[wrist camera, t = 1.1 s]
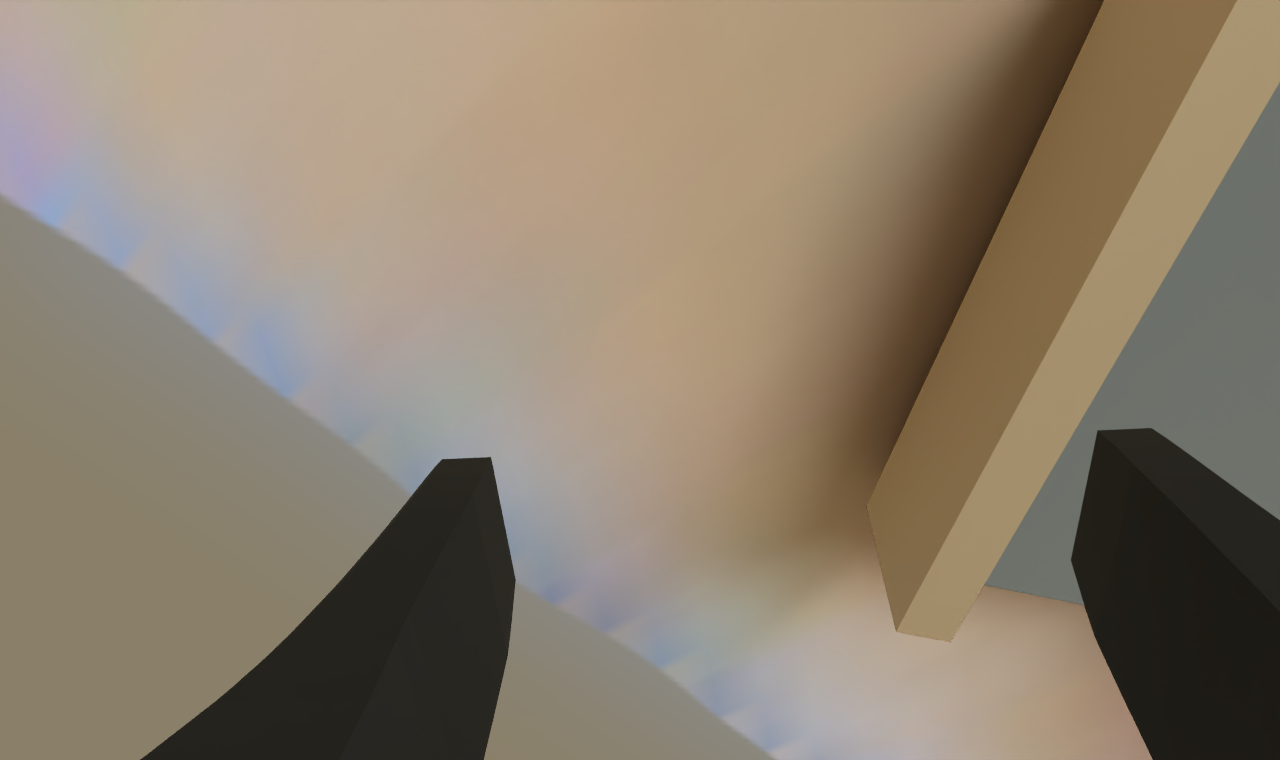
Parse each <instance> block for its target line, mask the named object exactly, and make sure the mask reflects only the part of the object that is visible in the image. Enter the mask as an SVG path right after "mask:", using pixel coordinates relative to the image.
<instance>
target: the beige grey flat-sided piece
mask: <svg viewBox="0 0 1280 760" xmlns="http://www.w3.org/2000/svg"><path fill="white" fill-rule="evenodd" d="M1139 428H1152V429H1154V430H1155V431H1157V432H1158V433H1160V434H1161V435H1163V436H1164V437H1166V438H1167V439H1169V440H1170V441H1171V442H1173V443H1174V444H1176V445H1177V446H1179V447H1180V448H1181V449H1183V450H1184V451H1185V452H1187V453H1188V454H1190V455H1191V456H1192V457H1194V458H1195V459H1196V460H1198V461H1199V462H1201V463H1202V464H1203V465H1205V466H1206V467H1207V468H1209V469H1210V470H1211V471H1213V472H1214V473H1215V474H1217V475H1218V476H1220V477H1221V478H1222V479H1224V480H1225V481H1226V482H1228V483H1229V484H1230V485H1232V486H1233V487H1235V488H1236V489H1237V490H1239V491H1240V492H1241V493H1243V494H1244V495H1245V496H1247V497H1248V498H1250V499H1251V500H1252V501H1254V502H1255V503H1257V504H1258V505H1259V506H1261V507H1262V508H1263V509H1265V510H1266V511H1268V512H1269V513H1270V514H1272V515H1273V516H1275V517H1276V518H1277V519H1279V520H1280V0H1104V2H1103V4H1102V6H1101V8H1100V10H1099V13H1098V15H1097V17H1096V19H1095V21H1094V23H1093V25H1092V27H1091V30H1090V32H1089V34H1088V36H1087V38H1086V40H1085V42H1084V44H1083V47H1082V49H1081V51H1080V53H1079V55H1078V57H1077V59H1076V61H1075V64H1074V66H1073V68H1072V70H1071V72H1070V74H1069V76H1068V78H1067V81H1066V83H1065V85H1064V87H1063V89H1062V91H1061V93H1060V95H1059V98H1058V100H1057V102H1056V104H1055V106H1054V108H1053V110H1052V112H1051V115H1050V117H1049V119H1048V121H1047V123H1046V125H1045V127H1044V129H1043V132H1042V134H1041V136H1040V138H1039V140H1038V142H1037V144H1036V147H1035V149H1034V151H1033V153H1032V155H1031V157H1030V159H1029V161H1028V164H1027V166H1026V168H1025V170H1024V172H1023V174H1022V176H1021V178H1020V181H1019V183H1018V185H1017V187H1016V189H1015V191H1014V193H1013V195H1012V198H1011V200H1010V202H1009V204H1008V206H1007V208H1006V210H1005V212H1004V215H1003V217H1002V219H1001V221H1000V223H999V225H998V227H997V229H996V232H995V234H994V236H993V238H992V240H991V242H990V244H989V246H988V249H987V251H986V253H985V255H984V257H983V259H982V261H981V263H980V266H979V268H978V270H977V272H976V274H975V276H974V278H973V280H972V283H971V285H970V287H969V289H968V291H967V293H966V295H965V297H964V300H963V302H962V304H961V306H960V308H959V310H958V312H957V314H956V317H955V319H954V321H953V323H952V325H951V327H950V329H949V332H948V334H947V336H946V338H945V340H944V342H943V344H942V346H941V349H940V351H939V353H938V355H937V357H936V359H935V361H934V363H933V366H932V368H931V370H930V372H929V374H928V376H927V378H926V380H925V383H924V385H923V387H922V389H921V391H920V393H919V395H918V397H917V400H916V402H915V404H914V406H913V408H912V410H911V412H910V414H909V417H908V419H907V421H906V423H905V425H904V427H903V429H902V431H901V434H900V436H899V438H898V440H897V442H896V444H895V446H894V448H893V451H892V453H891V455H890V457H889V459H888V461H887V463H886V465H885V468H884V470H883V472H882V474H881V476H880V478H879V480H878V482H877V485H876V487H875V489H874V491H873V493H872V495H871V497H870V499H869V502H868V504H867V506H866V507H867V511H868V515H869V520H870V524H871V528H872V532H873V536H874V541H875V545H876V549H877V553H878V558H879V562H880V566H881V570H882V574H883V579H884V583H885V587H886V591H887V596H888V600H889V604H890V608H891V612H892V617H893V621H894V625H895V629H896V632H900V633H905V634H911V635H916V636H921V637H926V638H931V639H936V640H942V641H947V642H951V640H952V639H953V637H954V635H955V634H956V632H957V630H958V629H959V627H960V625H961V623H962V622H963V620H964V618H965V617H966V615H967V613H968V612H969V610H970V608H971V606H972V605H973V603H974V601H975V600H976V598H977V596H978V595H979V593H980V591H981V589H982V588H983V586H984V585H986V586H991V587H996V588H1001V589H1006V590H1011V591H1016V592H1021V593H1026V594H1031V595H1036V596H1041V597H1046V598H1051V599H1056V600H1061V601H1066V602H1071V603H1076V604H1081V605H1084V603H1083V599H1082V596H1081V593H1080V589H1079V586H1078V583H1077V579H1076V576H1075V573H1074V569H1073V566H1072V563H1071V556H1072V552H1073V547H1074V542H1075V537H1076V532H1077V527H1078V522H1079V518H1080V513H1081V508H1082V503H1083V498H1084V493H1085V488H1086V484H1087V479H1088V474H1089V469H1090V464H1091V459H1092V454H1093V450H1094V445H1095V440H1096V435H1097V430H1117V429H1139Z"/></svg>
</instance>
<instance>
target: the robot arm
mask: <svg viewBox="0 0 1280 760" xmlns="http://www.w3.org/2000/svg"><path fill="white" fill-rule="evenodd" d="M1071 563H1072V566H1073V569H1074V573H1075V576H1076V579H1077V583H1078V586H1079V589H1080V593H1081V596H1082V599H1083V603H1084V606H1085V609H1086V612H1087V615H1088V618H1089V621H1090V624H1091V627H1092V630H1093V633H1094V636H1095V638H1096V640H1097V642H1098V645H1099V647H1100V649H1101V651H1102V653H1103V656H1104V658H1105V660H1106V662H1107V664H1108V666H1109V668H1110V671H1111V673H1112V675H1113V677H1114V679H1115V681H1116V683H1117V686H1118V688H1119V690H1120V692H1121V694H1122V696H1123V698H1124V700H1125V702H1126V705H1127V707H1128V709H1129V711H1130V713H1131V715H1132V717H1133V719H1134V721H1135V723H1136V725H1137V727H1138V730H1139V732H1140V734H1141V736H1142V738H1143V740H1144V742H1145V744H1146V746H1147V748H1148V750H1149V753H1150V755H1151V757H1152V759H1153V760H1280V520H1279V519H1277V518H1276V517H1275V516H1273V515H1272V514H1270V513H1269V512H1268V511H1266V510H1265V509H1263V508H1262V507H1261V506H1259V505H1258V504H1257V503H1255V502H1254V501H1252V500H1251V499H1250V498H1248V497H1247V496H1245V495H1244V494H1243V493H1241V492H1240V491H1239V490H1237V489H1236V488H1235V487H1233V486H1232V485H1230V484H1229V483H1228V482H1226V481H1225V480H1224V479H1222V478H1221V477H1220V476H1218V475H1217V474H1215V473H1214V472H1213V471H1211V470H1210V469H1209V468H1207V467H1206V466H1205V465H1203V464H1202V463H1201V462H1199V461H1198V460H1196V459H1195V458H1194V457H1192V456H1191V455H1190V454H1188V453H1187V452H1185V451H1184V450H1183V449H1181V448H1180V447H1179V446H1177V445H1176V444H1174V443H1173V442H1171V441H1170V440H1169V439H1167V438H1166V437H1164V436H1163V435H1161V434H1160V433H1158V432H1157V431H1155V430H1154V429H1152V428H1139V429H1117V430H1097V435H1096V440H1095V445H1094V450H1093V454H1092V459H1091V464H1090V469H1089V474H1088V479H1087V484H1086V488H1085V493H1084V498H1083V503H1082V508H1081V513H1080V518H1079V522H1078V527H1077V532H1076V537H1075V542H1074V547H1073V552H1072V556H1071ZM514 590H515V575H514V570H513V565H512V560H511V555H510V550H509V545H508V540H507V535H506V530H505V525H504V520H503V515H502V510H501V505H500V500H499V495H498V490H497V485H496V480H495V475H494V470H493V465H492V460H491V457H486V458H463V459H442V460H441V461H440V462H439V463H438V464H437V465H436V466H435V468H434V469H433V470H432V471H431V472H430V474H429V475H428V476H427V477H426V479H425V480H424V481H423V482H422V484H421V485H420V486H419V487H418V489H417V490H416V491H415V492H414V494H413V495H412V496H411V497H410V499H409V500H408V501H407V502H406V504H405V505H404V506H403V507H402V509H401V510H400V511H399V512H398V514H397V515H396V516H395V517H394V518H393V520H392V521H391V522H390V523H389V525H388V526H387V527H386V528H385V530H384V531H383V532H382V533H381V534H380V536H379V537H378V538H377V539H376V540H375V542H374V543H373V544H372V545H371V546H370V547H369V548H368V550H367V551H366V552H365V553H364V554H363V555H362V557H361V558H360V559H359V560H358V561H357V562H356V564H355V565H354V566H353V567H352V568H351V569H350V571H349V572H348V573H347V574H346V575H345V576H344V577H343V579H342V580H341V581H340V582H339V583H338V584H337V585H336V586H335V587H334V589H333V590H332V591H331V592H330V593H329V594H328V595H327V596H326V597H325V598H324V599H323V600H322V601H321V602H320V603H319V604H318V605H317V606H316V607H315V609H314V610H313V611H312V612H311V613H310V614H309V615H308V616H307V617H306V618H305V619H304V620H303V621H302V622H301V623H300V624H299V625H298V626H297V627H296V629H295V630H294V631H293V632H292V633H291V634H290V635H289V636H288V637H287V638H286V639H285V640H283V641H282V642H281V643H280V644H279V646H277V647H276V648H275V649H274V650H273V651H272V652H271V653H270V654H269V655H268V656H267V657H266V658H265V659H264V660H263V661H261V662H260V663H259V664H258V665H257V666H256V667H255V668H254V669H253V670H251V671H250V672H249V673H248V674H247V675H246V676H245V677H243V678H242V679H241V680H240V681H239V682H238V683H237V684H236V685H235V686H234V687H232V688H231V689H230V690H229V691H227V693H225V694H224V695H223V696H221V697H220V698H219V699H218V700H217V701H216V702H214V703H213V704H212V705H210V706H209V707H208V708H207V709H205V710H204V711H203V712H201V713H200V714H199V715H198V716H196V717H195V718H194V719H192V720H191V721H190V722H189V723H187V724H186V725H185V726H183V727H182V728H181V729H180V730H178V731H177V732H176V733H175V734H173V735H172V736H171V737H169V738H168V739H167V740H165V741H164V742H163V743H162V744H160V745H159V746H158V747H156V748H155V749H154V750H153V751H151V752H150V753H149V754H147V755H146V756H145V757H143V758H142V759H140V760H484V756H485V751H486V747H487V743H488V739H489V734H490V730H491V726H492V722H493V718H494V713H495V709H496V704H497V700H498V695H499V691H500V687H501V683H502V678H503V674H504V669H505V665H506V660H507V656H508V648H509V640H510V631H511V622H512V611H513V600H514Z"/></svg>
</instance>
